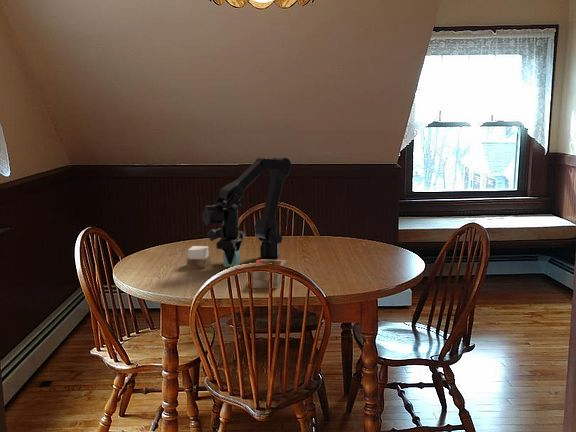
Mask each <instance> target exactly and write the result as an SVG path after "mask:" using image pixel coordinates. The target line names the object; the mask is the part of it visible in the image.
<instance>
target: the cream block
mask: <svg viewBox="0 0 576 432" xmlns="http://www.w3.org/2000/svg"><path fill="white" fill-rule="evenodd" d="M208 255H210V254H209V246H206V245H204V246H203V245H192V246H191V247H189V248H188V250H187V257H188V258H187V259H205V258H206V257H207V256H208Z"/></svg>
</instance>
